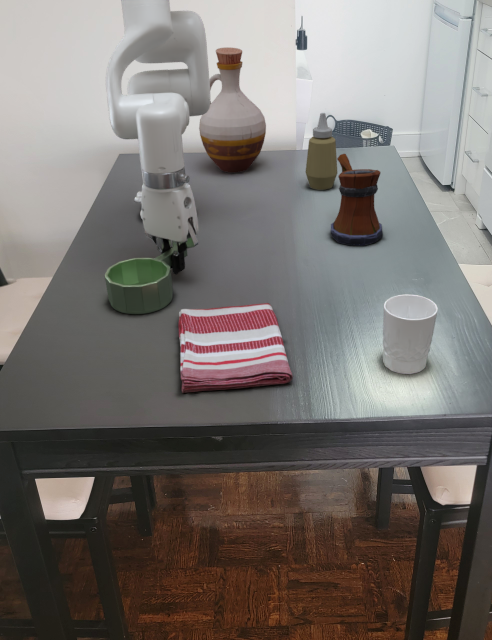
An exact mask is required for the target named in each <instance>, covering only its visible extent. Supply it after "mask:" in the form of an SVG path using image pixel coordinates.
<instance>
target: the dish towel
mask: <svg viewBox="0 0 492 640" xmlns="http://www.w3.org/2000/svg"><path fill="white" fill-rule="evenodd" d="M178 337H179V339H178V340H179V346H180V347H179V348H180V353H179V355H180V360H179V361H180V368H179V369H180V380H181V393H182V394H187V393H195V392H202V391H203V392H205V391H219V390H223V391H224V390H234V389H244V388H254V387H255V388H256V387H260V386H261V387H265V386H274V385H284V384H288V383H291V381H292V380H293V379H294V376H293V372H292V370H291V367H290V364H289V360H288V357H287V352H286V350H285V344H284V339H283V337H282V333H281V329H280V326H279V321H278V318H277V315H276V313H275V312H274V310H273V306H272V305H271V303H269V302H263V303H252V304H247V305H246V304H244V305H230V306H221V307H220V306H219V307H211V308H182V309H180V311H179V312H178Z"/></svg>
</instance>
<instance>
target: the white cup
mask: <svg viewBox="0 0 492 640" xmlns="http://www.w3.org/2000/svg"><path fill="white" fill-rule="evenodd" d="M438 311H439V308H438V305H437V304H436V302H435V301H433V300H432V299H430V298H428V297H425V296H422V295H417V294H410V293H409V294H407V293H406V294H398V295H394V296H391V297H389V298H388V299H386V300H385V302H383V319H382V321H383V322H382V362H383V365H384V366H385V368H387V369H388V370H390V371H391V372H394V373H398V374H401V375H402V374H403V375H413V374H416V373H420V372H421V371H423V370H425V369H426V366H427V363H428V357H429V353H430V350H431V345H432V341H433V336H434V334H435V333H434V332H435V327H436V321H437V317H438Z"/></svg>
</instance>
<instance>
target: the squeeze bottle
mask: <svg viewBox="0 0 492 640" xmlns="http://www.w3.org/2000/svg"><path fill="white" fill-rule="evenodd" d="M336 142H337V141H336V138H335V137H334V136H333V128H332V127H329V126H328V120H327V115H326V113H325V112H321V113H320V114H319V118H318V123H317V126H316V127H314V128H312V137H310V138H309V140H308V147H307V155H306V164H305V176H306V178H307V179H306V180H307V182H308V186H309V188H311V189H313V190H318V191H323V190H330V189H332V188H333V187H334V184H335V181H336V179H337V176H338V160H337V158H338V157H337V144H336Z"/></svg>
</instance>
